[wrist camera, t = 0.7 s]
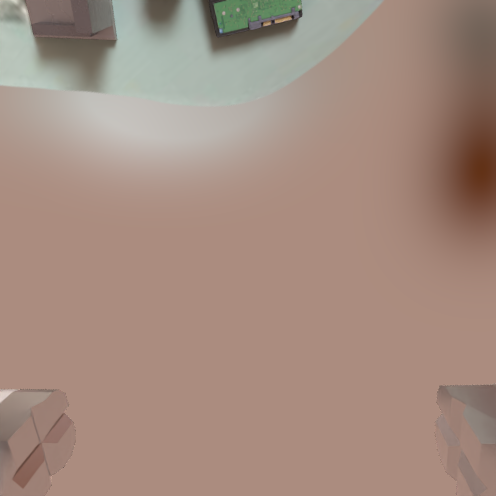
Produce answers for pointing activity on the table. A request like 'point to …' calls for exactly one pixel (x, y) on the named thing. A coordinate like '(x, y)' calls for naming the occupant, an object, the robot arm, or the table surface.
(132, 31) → the table surface
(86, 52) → the table surface
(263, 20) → the disk drive
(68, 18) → the keeper
